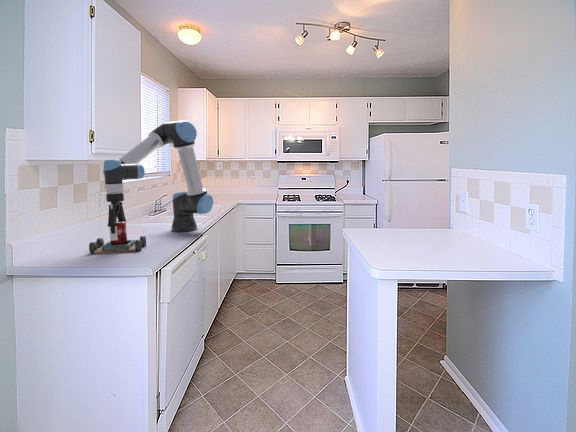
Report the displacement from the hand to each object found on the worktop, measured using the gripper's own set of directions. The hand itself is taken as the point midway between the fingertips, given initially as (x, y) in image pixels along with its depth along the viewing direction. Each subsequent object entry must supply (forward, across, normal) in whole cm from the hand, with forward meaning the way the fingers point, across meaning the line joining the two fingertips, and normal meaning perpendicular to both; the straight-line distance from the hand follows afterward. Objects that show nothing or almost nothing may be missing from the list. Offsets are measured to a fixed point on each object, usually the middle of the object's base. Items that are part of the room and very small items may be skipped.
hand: (118, 237), depth 187 cm
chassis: (+6, 0, 0) cm, 6 cm away
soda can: (+5, 0, 0) cm, 5 cm away
